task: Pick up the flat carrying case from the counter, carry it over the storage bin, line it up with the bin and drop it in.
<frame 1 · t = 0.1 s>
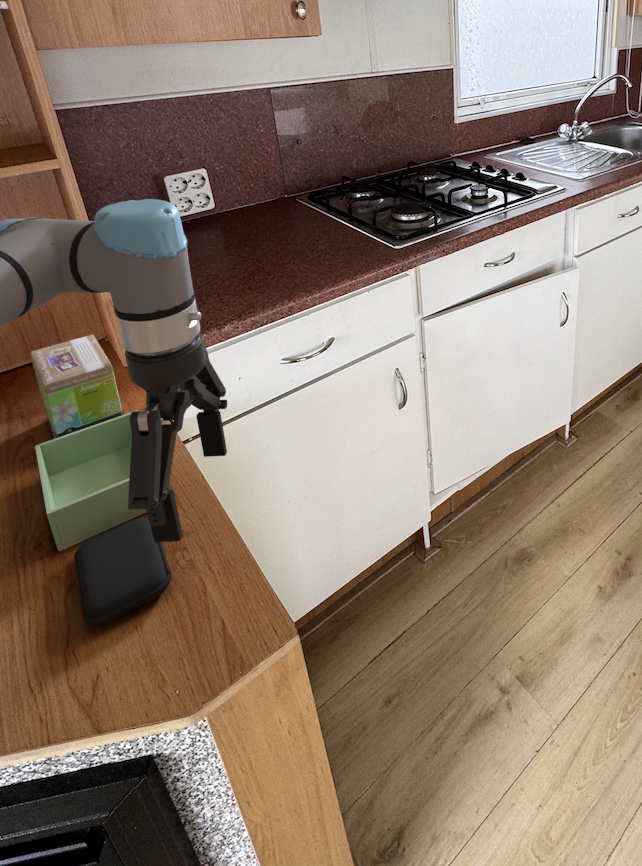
hand: (194, 493, 71), 16 cm above the counter, tool pointing down, fingers open, 13 cm apart
storage bin: (106, 490, 92), on the counter
carrying case: (129, 574, 78), on the counter
tea box: (88, 427, 106), on the counter
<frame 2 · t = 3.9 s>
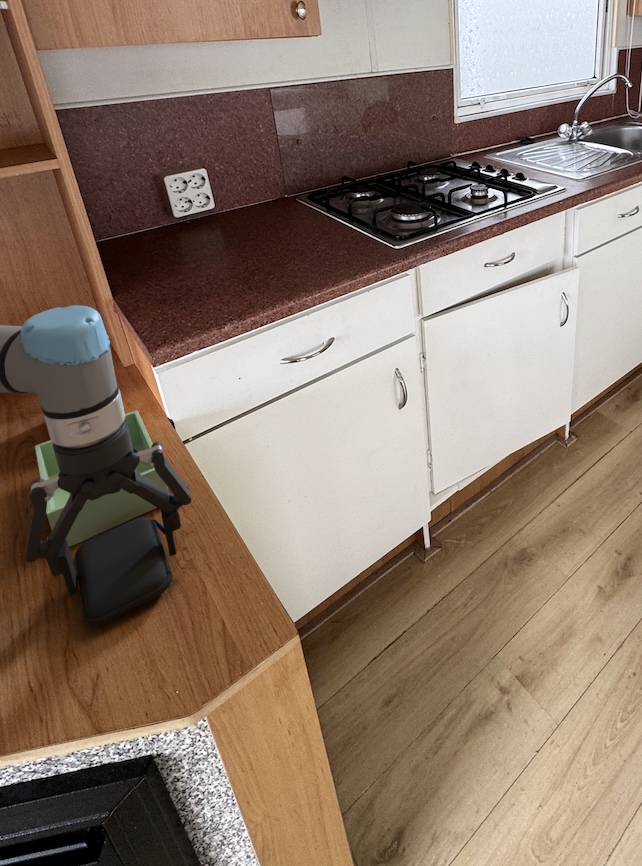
hand: (125, 567, 77), 1 cm above the counter, tool pointing down, fingers closed on carrying case, 10 cm apart
carrying case: (129, 574, 78), on the counter, touching gripper
everything else where it was.
when the fingers open (7 cm above the counter, at t = 11.5 s): carrying case stays where it is, resting on storage bin.
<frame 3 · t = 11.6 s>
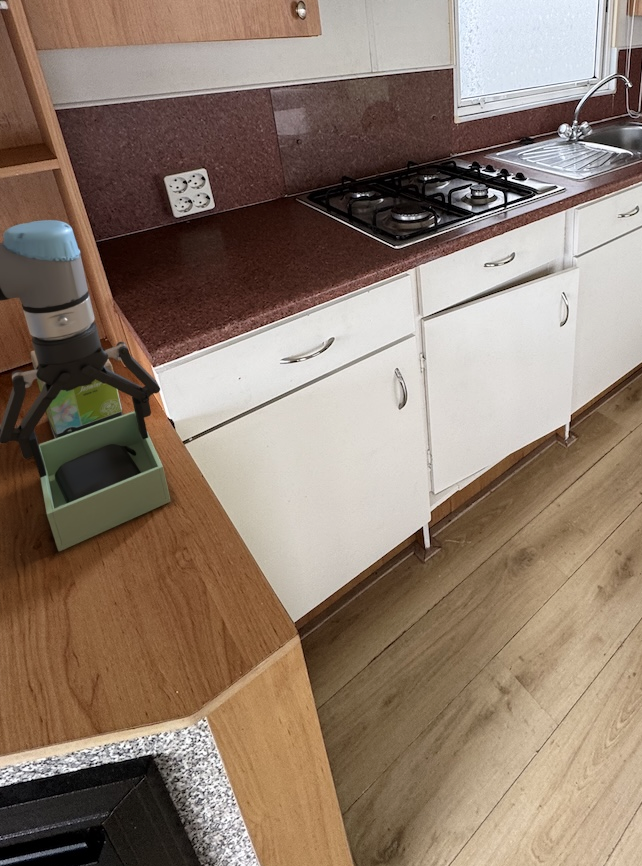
hand: (95, 452, 89), 8 cm above the counter, tool pointing down, fingers open, 12 cm apart
carrying case: (106, 486, 92), point 1 cm above the counter, touching storage bin
everything else where it was.
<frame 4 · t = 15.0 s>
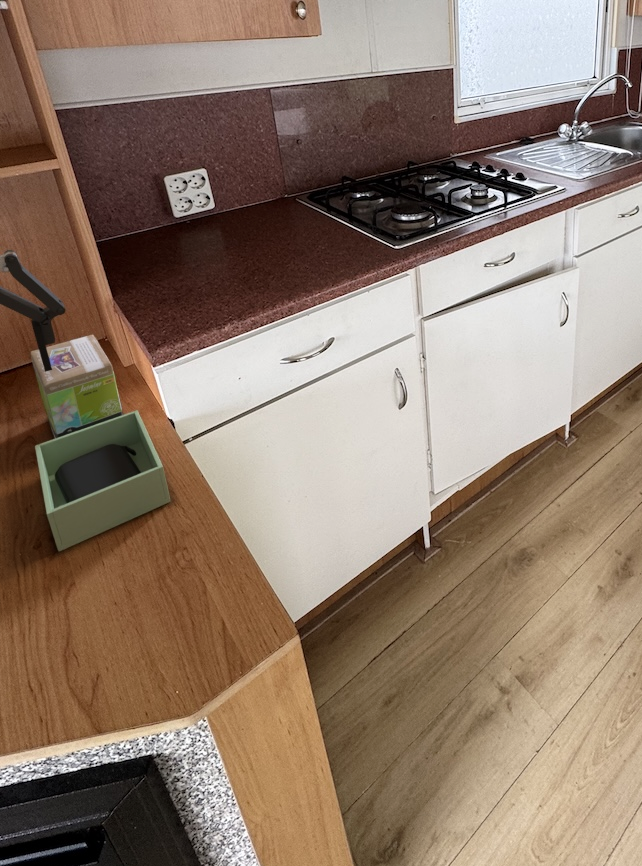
nothing on the counter moved.
at the end: carrying case inside the target area in the storage bin (0.2 cm from its centre), point 0.6 cm above the storage bin's base; the gripper is holding nothing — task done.
